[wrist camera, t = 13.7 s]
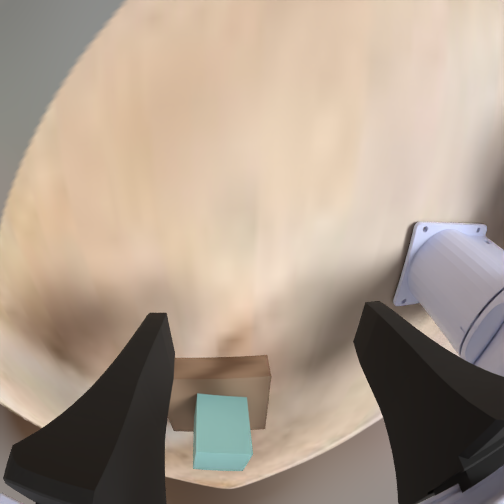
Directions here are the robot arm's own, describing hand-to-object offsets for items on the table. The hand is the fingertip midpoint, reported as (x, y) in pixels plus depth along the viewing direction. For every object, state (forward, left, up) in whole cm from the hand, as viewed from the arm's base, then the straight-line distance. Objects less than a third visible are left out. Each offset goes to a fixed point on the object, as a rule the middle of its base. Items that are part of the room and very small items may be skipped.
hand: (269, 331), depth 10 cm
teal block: (+3, +18, -8) cm, 20 cm away
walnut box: (+3, +18, -11) cm, 21 cm away
